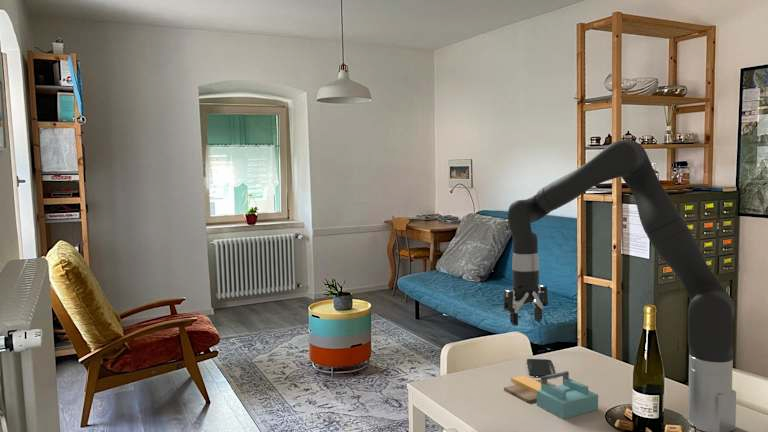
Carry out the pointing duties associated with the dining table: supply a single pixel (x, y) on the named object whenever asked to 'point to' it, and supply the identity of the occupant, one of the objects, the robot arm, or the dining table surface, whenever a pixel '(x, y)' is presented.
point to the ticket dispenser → (566, 397)
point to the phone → (540, 367)
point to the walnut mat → (523, 392)
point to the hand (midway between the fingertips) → (526, 323)
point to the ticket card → (527, 383)
